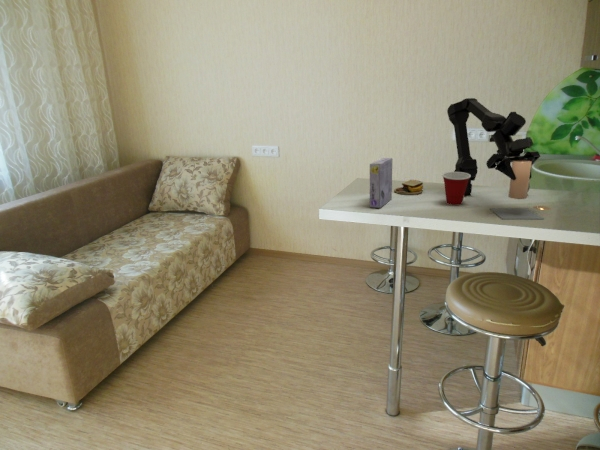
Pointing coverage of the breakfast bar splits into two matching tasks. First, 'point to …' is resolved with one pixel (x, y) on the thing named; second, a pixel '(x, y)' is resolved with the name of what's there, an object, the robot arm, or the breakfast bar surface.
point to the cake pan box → (380, 182)
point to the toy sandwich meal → (410, 188)
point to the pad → (516, 214)
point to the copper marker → (542, 207)
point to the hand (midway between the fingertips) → (522, 179)
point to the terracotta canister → (520, 179)
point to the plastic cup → (455, 186)
